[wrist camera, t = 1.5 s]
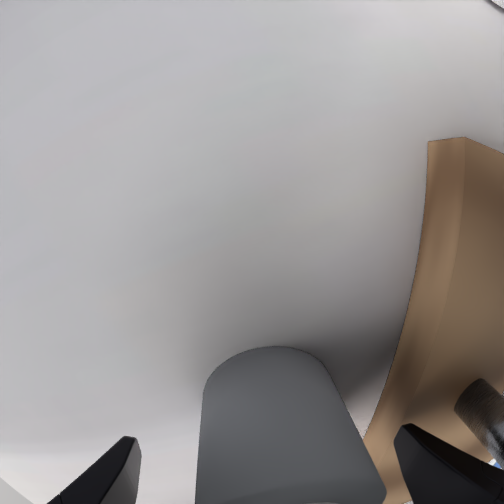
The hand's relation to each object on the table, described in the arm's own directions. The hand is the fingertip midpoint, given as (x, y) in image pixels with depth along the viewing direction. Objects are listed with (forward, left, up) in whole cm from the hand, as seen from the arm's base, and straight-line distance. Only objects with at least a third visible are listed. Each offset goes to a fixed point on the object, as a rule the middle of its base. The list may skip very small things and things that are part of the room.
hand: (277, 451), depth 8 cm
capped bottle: (0, 0, -3) cm, 3 cm away
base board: (0, -14, -3) cm, 15 cm away
